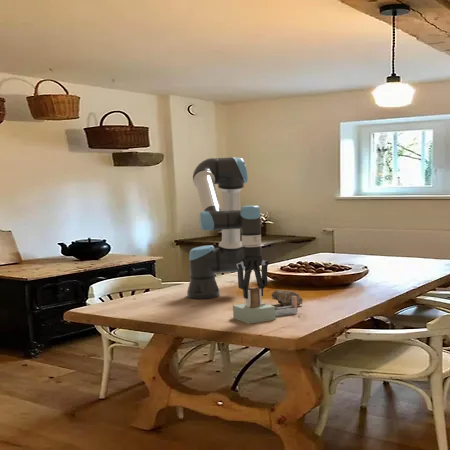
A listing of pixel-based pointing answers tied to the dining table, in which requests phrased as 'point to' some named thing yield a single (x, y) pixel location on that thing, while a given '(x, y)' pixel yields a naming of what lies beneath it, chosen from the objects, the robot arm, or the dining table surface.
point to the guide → (285, 312)
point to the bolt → (294, 304)
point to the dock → (254, 313)
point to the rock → (286, 297)
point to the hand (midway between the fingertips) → (253, 305)
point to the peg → (254, 297)
